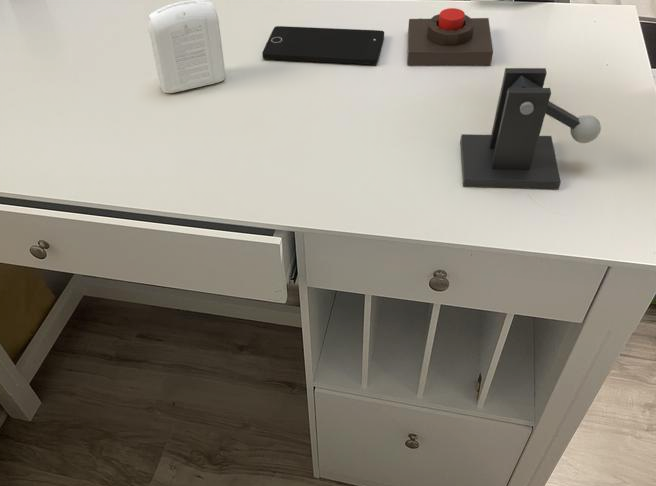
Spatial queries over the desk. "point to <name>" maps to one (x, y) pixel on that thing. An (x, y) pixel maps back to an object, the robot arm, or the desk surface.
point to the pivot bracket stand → (513, 140)
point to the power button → (451, 19)
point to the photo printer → (186, 45)
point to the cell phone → (324, 45)
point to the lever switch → (567, 117)
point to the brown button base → (449, 43)
